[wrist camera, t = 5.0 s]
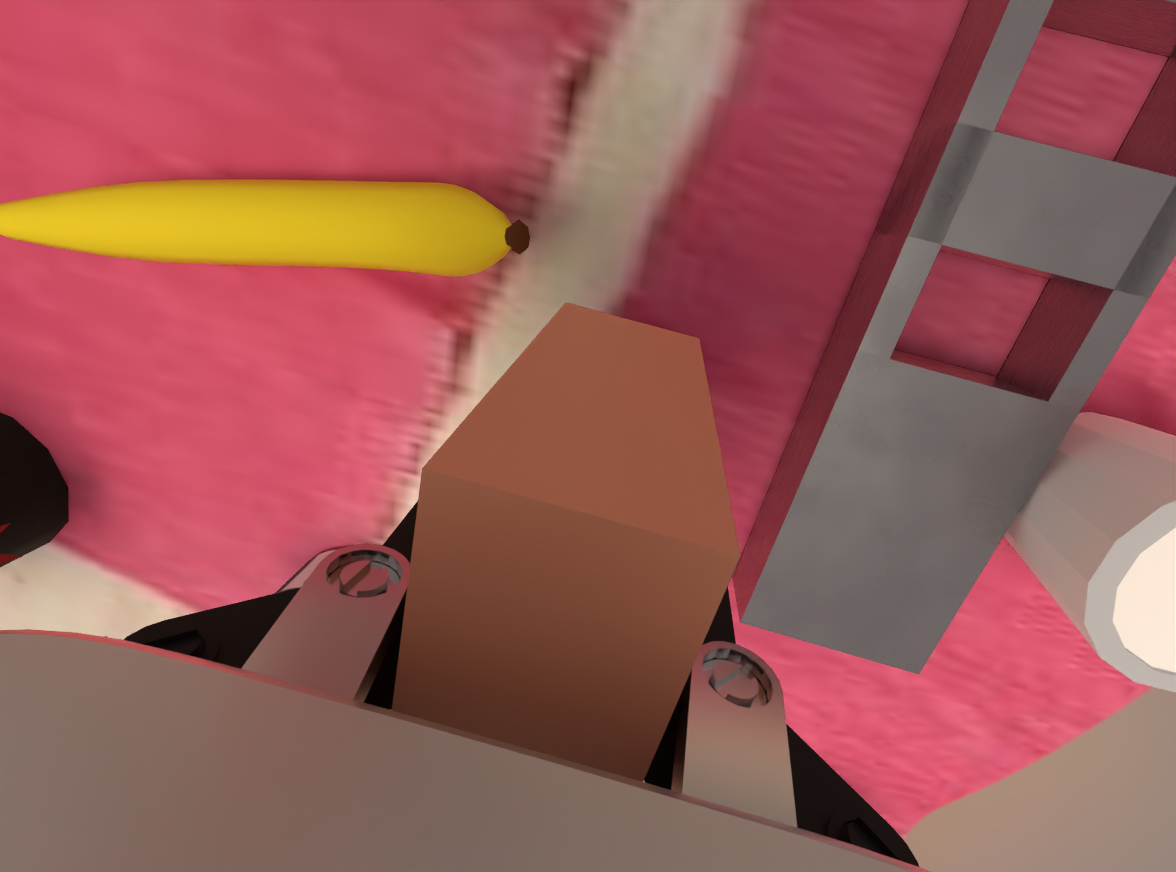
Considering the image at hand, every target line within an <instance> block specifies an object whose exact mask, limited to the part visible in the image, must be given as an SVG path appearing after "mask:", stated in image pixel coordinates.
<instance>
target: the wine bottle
mask: <svg viewBox="0 0 1176 872" xmlns="http://www.w3.org/2000/svg"><path fill="white" fill-rule="evenodd" d="M67 522H68V487H67V486H66V484H65V482H64V480H63V478H62V476H61V474H60V472H59V470H58V468H57V467H56V465H55V463H54V461H53V459H52V457H51V455H50V453H49V451H48V450H47V449H46V448H45V447H44V446H43V445H42V444H41V443H40V442H39V441H37V440H36V439H35V438H34V437H33V436H32V435H31V434H30V433H29V432H27V431H26V430H25V429H24V428H23V427H22V426H21V425H20V424H19V423H17V422H16V421H15V420H14V419H13V418H11V417H9V416H6V415H4V414H1V413H0V567H2V566H4V565H6V564H8V563H10V562H11V561H13V560H15V559H17V558H19V557H22V556H23V555H25V554H27V553H29V552H31V551H33V550H35V549H37V548H39V547H41V546H43V545H45V544H47V543H49V542H50V541H51V540H52V539H53V538H54V537H55V535H56V534H57V533H58V532H59V531H60V530H61V529H62V528H63V526H64V525H65V524H66V523H67Z"/></svg>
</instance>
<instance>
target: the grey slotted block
mask: <svg viewBox="0 0 1176 872" xmlns="http://www.w3.org/2000/svg"><path fill="white" fill-rule="evenodd" d="M1042 26H1045V27H1049V28H1054V29H1058V30H1062V31H1066V32H1070V33H1074V34H1078V35H1082V36H1086V37H1091V38H1095V39H1099V40H1103V41H1107V42H1111V43H1115V44H1119V45H1123V46H1127V47H1132V48H1136V49H1140V50H1144V51H1148V52H1152V53H1156V54H1160V55H1164V56H1168V57H1170V58H1169V60H1168V61H1167V63H1166V65H1165V67H1164V69H1163V71H1162V73H1161V74H1160V76H1159V78H1158V80H1157V82H1156V84H1155V86H1154V87H1153V89H1152V91H1151V93H1150V95H1149V97H1148V98H1147V100H1146V102H1145V104H1144V106H1143V108H1142V110H1141V111H1140V113H1139V115H1138V117H1137V119H1136V121H1135V123H1134V124H1133V126H1132V128H1131V130H1130V132H1129V134H1128V136H1127V137H1126V139H1125V141H1124V143H1123V145H1122V147H1121V149H1120V150H1119V152H1118V154H1117V156H1116V158H1115V160H1114V161H1110V160H1106V159H1102V158H1098V157H1094V156H1090V155H1086V154H1082V153H1078V152H1074V151H1070V150H1066V149H1062V148H1058V147H1054V146H1050V145H1046V144H1042V143H1038V142H1034V141H1030V140H1026V139H1022V138H1018V137H1014V136H1010V135H1006V134H1003V133H999V132H995V131H994V130H995V127H996V125H997V123H998V121H999V119H1000V116H1001V114H1002V112H1003V110H1004V108H1005V106H1006V103H1007V101H1008V99H1009V97H1010V95H1011V92H1012V90H1013V88H1014V86H1015V84H1016V82H1017V79H1018V77H1019V75H1020V73H1021V71H1022V68H1023V66H1024V64H1025V62H1026V60H1027V58H1028V55H1029V53H1030V51H1031V49H1032V47H1033V44H1034V42H1035V40H1036V38H1037V36H1038V34H1039V31H1040V29H1041V27H1042ZM939 250H940V251H944V252H948V253H952V254H956V255H959V256H963V257H967V258H971V259H975V260H979V261H982V262H986V263H990V264H994V265H998V266H1002V267H1005V268H1009V269H1013V270H1017V271H1021V272H1025V273H1028V274H1032V275H1036V276H1040V277H1044V278H1048V279H1050V280H1049V282H1048V284H1047V286H1046V288H1045V289H1044V291H1043V293H1042V295H1041V297H1040V299H1039V301H1038V302H1037V304H1036V306H1035V308H1034V310H1033V312H1032V314H1031V315H1030V317H1029V319H1028V321H1027V323H1026V325H1025V327H1024V328H1023V330H1022V332H1021V334H1020V336H1019V338H1018V339H1017V341H1016V343H1015V345H1014V347H1013V349H1012V351H1011V352H1010V354H1009V356H1008V358H1007V360H1006V362H1005V364H1004V365H1003V367H1002V369H1001V371H1000V373H999V375H998V377H996V376H992V375H988V374H985V373H981V372H977V371H974V370H970V369H966V368H962V367H959V366H955V365H951V364H947V363H944V362H940V361H936V360H933V359H929V358H925V357H921V356H918V355H914V354H910V353H906V352H903V351H899V350H895V349H894V348H895V346H896V344H897V341H898V339H899V337H900V335H901V333H902V330H903V328H904V326H905V324H906V322H907V320H908V317H909V315H910V313H911V311H912V309H913V306H914V304H915V302H916V300H917V298H918V296H919V293H920V291H921V289H922V287H923V285H924V282H925V280H926V278H927V276H928V274H929V272H930V269H931V267H932V265H933V263H934V261H935V258H936V256H937V254H938V252H939ZM1175 255H1176V0H970V2H969V4H968V6H967V9H966V11H965V14H964V16H963V19H962V21H961V23H960V26H959V28H958V31H957V33H956V36H955V38H954V40H953V43H952V45H951V48H950V50H949V53H948V55H947V57H946V60H945V62H944V65H943V67H942V70H941V72H940V74H939V77H938V79H937V82H936V84H935V87H934V89H933V91H932V94H931V96H930V99H929V101H928V104H927V106H926V108H925V111H924V113H923V116H922V118H921V121H920V123H919V125H918V128H917V130H916V133H915V135H914V138H913V140H912V142H911V145H910V147H909V150H908V152H907V155H906V157H905V159H904V162H903V164H902V167H901V169H900V172H899V174H898V176H897V179H896V181H895V184H894V186H893V189H892V191H891V193H890V196H889V198H888V201H887V203H886V206H885V208H884V210H883V213H882V215H881V218H880V220H879V223H878V225H877V227H876V230H875V232H874V235H873V237H872V240H871V242H870V244H869V247H868V249H867V252H866V254H865V257H864V259H863V262H862V264H861V266H860V269H859V271H858V274H857V276H856V279H855V281H854V283H853V286H852V288H851V291H850V293H849V296H848V298H847V300H846V303H845V305H844V308H843V310H842V313H841V315H840V317H839V320H838V322H837V325H836V327H835V330H834V332H833V334H832V337H831V339H830V342H829V344H828V347H827V349H826V351H825V354H824V356H823V359H822V361H821V364H820V366H819V368H818V371H817V373H816V376H815V378H814V381H813V383H812V385H811V388H810V390H809V393H808V395H807V398H806V400H805V402H804V405H803V407H802V410H801V412H800V415H799V417H798V419H797V422H796V424H795V427H794V429H793V432H792V434H791V436H790V439H789V441H788V444H787V446H786V449H785V451H784V453H783V456H782V458H781V461H780V463H779V466H778V468H777V470H776V473H775V475H774V478H773V480H772V483H771V485H770V487H769V490H768V492H767V495H766V497H765V500H764V502H763V504H762V507H761V509H760V512H759V514H758V517H757V519H756V521H755V524H754V526H753V529H752V531H751V534H750V536H749V539H748V541H747V543H746V546H745V548H744V551H743V553H742V556H741V558H740V560H739V563H738V565H737V568H736V570H735V573H734V575H733V583H734V589H735V595H736V601H737V607H738V613H739V618H740V622H741V623H744V624H747V625H751V626H754V627H758V628H761V629H765V630H768V631H772V632H775V633H778V634H782V635H785V636H789V637H792V638H796V639H799V640H803V641H806V642H809V643H813V644H816V645H820V646H823V647H827V648H830V649H834V650H837V651H841V652H844V653H847V654H851V655H854V656H858V657H861V658H865V659H868V660H872V661H875V662H878V663H882V664H885V665H889V666H892V667H896V668H899V669H903V670H906V671H909V672H913V673H916V674H919V673H920V672H921V670H922V668H923V667H924V665H925V664H926V662H927V660H928V659H929V657H930V655H931V654H932V652H933V650H934V649H935V647H936V646H937V644H938V642H939V641H940V639H941V637H942V636H943V634H944V633H945V631H946V629H947V628H948V626H949V624H950V623H951V621H952V619H953V618H954V616H955V615H956V613H957V611H958V610H959V608H960V606H961V605H962V603H963V601H964V600H965V598H966V597H967V595H968V593H969V592H970V590H971V588H972V587H973V585H974V584H975V582H976V580H977V579H978V577H979V575H980V574H981V572H982V570H983V569H984V567H985V566H986V564H987V562H988V561H989V559H990V557H991V556H992V554H993V552H994V551H995V549H996V548H997V546H998V544H999V543H1000V541H1001V539H1002V538H1003V536H1004V535H1005V533H1006V531H1007V530H1008V528H1009V526H1010V525H1011V523H1012V521H1013V520H1014V518H1015V517H1016V515H1017V513H1018V512H1019V510H1020V508H1021V507H1022V505H1023V503H1024V502H1025V500H1026V499H1027V497H1028V495H1029V494H1030V492H1031V490H1032V489H1033V487H1034V485H1035V484H1036V482H1037V481H1038V479H1039V477H1040V476H1041V474H1042V472H1043V471H1044V469H1045V468H1046V466H1047V464H1048V463H1049V461H1050V459H1051V458H1052V456H1053V454H1054V453H1055V451H1056V450H1057V448H1058V446H1059V445H1060V443H1061V441H1062V440H1063V438H1064V436H1065V435H1066V433H1067V432H1068V430H1069V428H1070V427H1071V425H1072V423H1073V422H1074V420H1075V419H1076V417H1077V415H1078V414H1079V412H1080V410H1081V409H1082V407H1083V405H1084V404H1085V402H1086V401H1087V399H1088V397H1089V396H1090V394H1091V392H1092V391H1093V389H1094V387H1095V386H1096V384H1097V383H1098V381H1099V379H1100V378H1101V376H1102V374H1103V373H1104V371H1105V370H1106V368H1107V366H1108V365H1109V363H1110V361H1111V360H1112V358H1113V356H1114V355H1115V353H1116V352H1117V350H1118V348H1119V347H1120V345H1121V343H1122V342H1123V340H1124V338H1125V337H1126V335H1127V334H1128V332H1129V330H1130V329H1131V327H1132V325H1133V324H1134V322H1135V320H1136V319H1137V317H1138V316H1139V314H1140V312H1141V311H1142V309H1143V307H1144V306H1145V304H1146V303H1147V301H1148V299H1149V298H1150V296H1151V294H1152V293H1153V291H1154V289H1155V288H1156V286H1157V285H1158V283H1159V281H1160V280H1161V278H1162V276H1163V275H1164V273H1165V271H1166V270H1167V268H1168V267H1169V265H1170V263H1171V262H1172V260H1173V258H1174V257H1175Z"/></svg>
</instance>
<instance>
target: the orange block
mask: <svg viewBox="0 0 1176 872" xmlns="http://www.w3.org/2000/svg"><path fill="white" fill-rule="evenodd" d="M739 558H740V550H739V545H738V540H737V534H736V529H735V524H734V519H733V513H732V508H731V503H730V498H729V492H728V487H727V482H726V477H725V471H724V466H723V461H722V456H721V450H720V445H719V440H718V435H717V429H716V424H715V419H714V414H713V408H712V403H711V398H710V392H709V387H708V382H707V377H706V371H705V366H704V361H703V356H702V350H701V345H700V340H699V338H696V337H693V336H689V335H685V334H681V333H678V332H674V331H670V330H666V329H663V328H659V327H655V326H651V325H648V324H644V323H640V322H636V321H633V320H629V319H625V318H621V317H618V316H614V315H610V314H606V313H603V312H599V311H595V310H592V309H588V308H584V307H580V306H577V305H573V304H569V303H565V304H564V305H563V307H562V308H561V309H560V310H559V311H558V312H557V313H556V315H555V316H554V317H553V318H552V319H551V320H550V322H549V323H548V324H547V325H546V326H545V327H544V328H543V330H542V331H541V332H540V333H539V334H538V335H537V337H536V338H535V339H534V340H533V341H532V342H531V343H530V345H529V346H528V347H527V348H526V349H525V350H524V352H523V353H522V354H521V355H520V356H519V357H518V358H517V360H516V361H515V362H514V363H513V364H512V365H511V367H510V368H509V369H508V370H507V371H506V372H505V373H504V375H503V376H502V377H501V378H500V379H499V380H498V382H497V383H496V384H495V385H494V386H493V387H492V389H491V390H490V391H489V392H488V393H487V394H486V395H485V397H484V398H483V399H482V400H481V401H480V402H479V404H478V405H477V406H476V407H475V408H474V409H473V410H472V412H471V413H470V414H469V415H468V416H467V417H466V419H465V420H464V421H463V422H462V423H461V424H460V425H459V427H458V428H457V429H456V430H455V431H454V432H453V434H452V435H451V436H450V437H449V438H448V439H447V440H446V442H445V443H444V444H443V445H442V446H441V447H440V449H439V450H438V451H437V452H436V453H435V454H434V455H433V457H432V458H431V459H430V460H429V461H428V462H427V464H426V465H425V466H424V467H423V468H422V475H421V483H420V491H419V499H418V507H417V515H416V523H415V531H414V538H413V546H412V554H411V562H410V570H409V578H408V586H407V594H406V602H405V609H404V617H403V625H402V633H401V641H400V649H399V657H398V665H397V673H396V680H395V688H394V696H393V704H392V711H396V712H399V713H403V714H406V715H410V716H414V717H417V718H421V719H424V720H428V721H431V722H435V723H438V724H442V725H445V726H449V727H452V728H456V729H460V730H463V731H467V732H470V733H474V734H477V735H481V736H484V737H488V738H491V739H495V740H498V741H502V742H505V743H509V744H512V745H516V746H519V747H523V748H526V749H530V750H533V751H537V752H540V753H544V754H547V755H551V756H554V757H558V758H561V759H565V760H568V761H572V762H575V763H579V764H582V765H586V766H589V767H593V768H596V769H600V770H603V771H607V772H610V773H614V774H617V775H621V776H624V777H627V778H631V779H634V780H638V781H641V782H643V781H644V778H645V776H646V774H647V771H648V769H649V767H650V764H651V762H652V760H653V757H654V755H655V753H656V751H657V748H658V746H659V744H660V741H661V739H662V737H663V734H664V732H665V730H666V727H667V725H668V723H669V720H670V718H671V716H672V713H673V711H674V709H675V707H676V704H677V702H678V700H679V697H680V695H681V693H682V690H683V688H684V686H685V683H686V681H687V679H688V676H689V674H690V672H691V669H692V667H693V665H694V663H695V660H696V658H697V656H698V653H699V651H700V649H701V646H702V644H703V642H704V639H705V637H706V635H707V632H708V630H709V628H710V625H711V623H712V621H713V619H714V616H715V614H716V612H717V609H718V607H719V605H720V602H721V600H722V598H723V595H724V593H725V591H726V588H727V586H728V584H729V581H730V579H731V577H732V575H733V572H734V570H735V568H736V565H737V563H738V561H739Z"/></svg>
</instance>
